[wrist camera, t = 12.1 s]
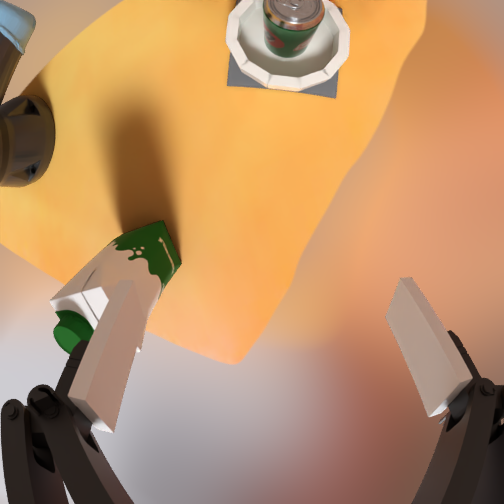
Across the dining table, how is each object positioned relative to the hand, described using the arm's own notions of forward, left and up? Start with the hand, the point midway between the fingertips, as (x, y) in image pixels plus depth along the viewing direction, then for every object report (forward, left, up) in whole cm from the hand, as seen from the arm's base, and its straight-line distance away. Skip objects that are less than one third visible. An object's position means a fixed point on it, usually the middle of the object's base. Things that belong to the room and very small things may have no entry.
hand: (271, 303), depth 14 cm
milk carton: (-16, -10, -25) cm, 31 cm away
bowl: (0, +19, -24) cm, 31 cm away
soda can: (0, +19, -23) cm, 30 cm away
